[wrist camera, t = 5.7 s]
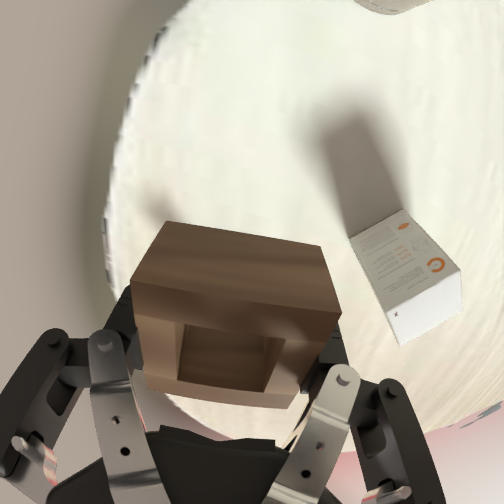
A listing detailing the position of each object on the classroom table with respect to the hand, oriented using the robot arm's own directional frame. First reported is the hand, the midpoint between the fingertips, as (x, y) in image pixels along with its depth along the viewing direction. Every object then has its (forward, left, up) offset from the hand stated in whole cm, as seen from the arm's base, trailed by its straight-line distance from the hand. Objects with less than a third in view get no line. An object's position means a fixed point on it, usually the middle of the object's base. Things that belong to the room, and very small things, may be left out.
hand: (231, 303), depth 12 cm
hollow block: (0, 0, -1) cm, 1 cm away
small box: (+5, +18, -20) cm, 27 cm away
